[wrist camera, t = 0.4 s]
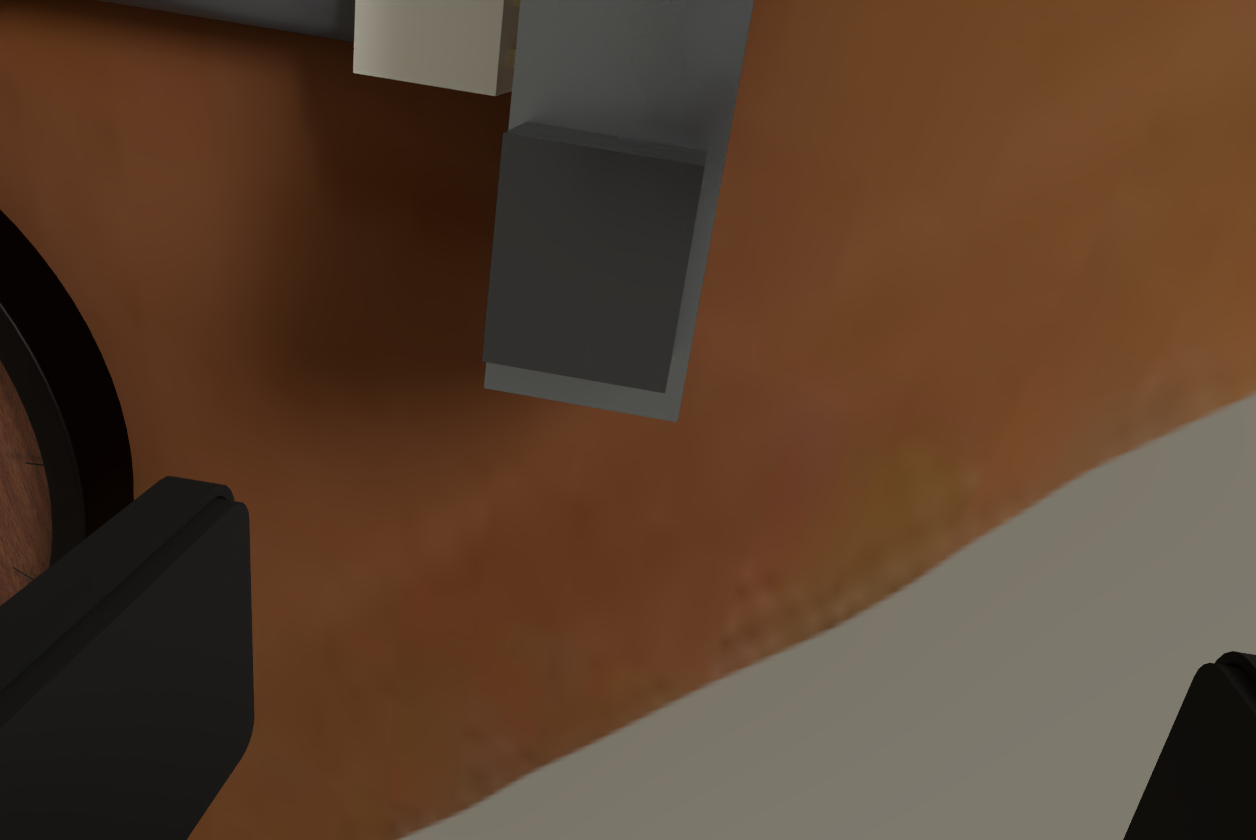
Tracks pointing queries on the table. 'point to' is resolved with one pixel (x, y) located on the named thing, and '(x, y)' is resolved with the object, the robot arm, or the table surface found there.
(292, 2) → the plug
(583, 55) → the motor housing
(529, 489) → the table surface
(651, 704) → the table surface
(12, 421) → the wall clock
